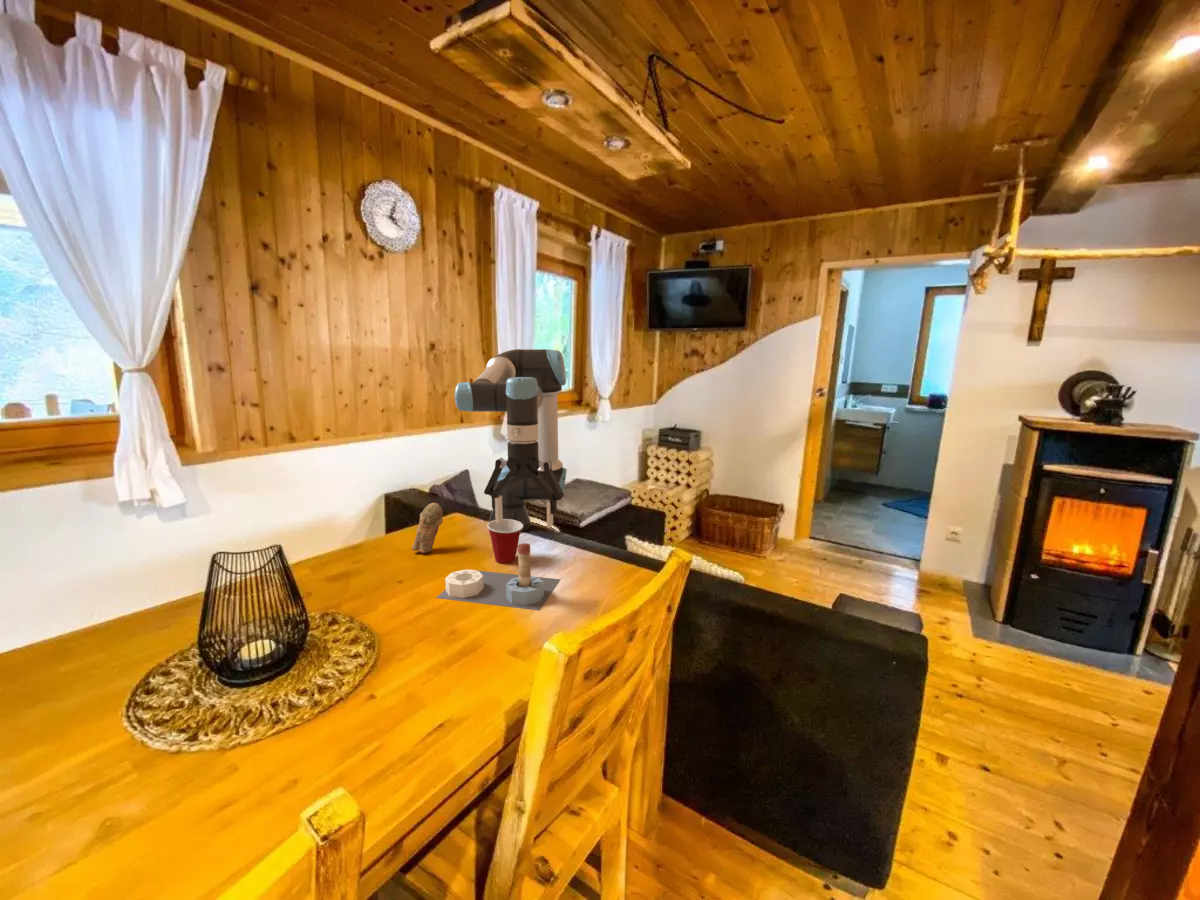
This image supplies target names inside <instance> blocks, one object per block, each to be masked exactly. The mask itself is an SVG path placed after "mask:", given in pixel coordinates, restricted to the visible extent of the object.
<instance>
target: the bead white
mask: <svg viewBox="0 0 1200 900" xmlns="http://www.w3.org/2000/svg"><path fill="white" fill-rule="evenodd" d="M479 571H480V570H478V571H476V569H475V570H474V569H469V570H468V569H466V568H465V569H462V570H457V571H452V572H451V573H450V574H448V575H447V576H446V577H445V578H444V580H445V581H444V582H445V583H444V584H445V589H446V592H447V593H448V595H449V596H450V597H458V598H466V597H470V596H474V595H477V594H478V593H479V592H480V591H481V590H482V589H483V588H484V585H483V575H482V574H481V573H480V572H479Z"/></svg>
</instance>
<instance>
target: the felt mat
mask: <svg viewBox="0 0 1200 900" xmlns="http://www.w3.org/2000/svg"><path fill="white" fill-rule="evenodd" d="M467 570H470V569H467ZM475 570H476V569H475ZM476 571H479V572H480V573H481V574H482V575H483V585H484V588H483V589H482V590H481V591H480V592H479V593H478V594H477V595H474V596H470V597H466V598H458V597H450V596H449V595H448V593H447V592H446V588H445V590H443V591H442V592H440V594H439V595H437V596H436V597H435V599H439V600H449V601H457V602H458V601H459V602H466V603H473V604H483V605H491V606H498V607H499V606H500V607H506V608H514V609H516V608H517V609H521V610H522V609H523V610H532V611H541V610H542V608H543V606H544V605H545V604H546V602H547V601H548V599H549V597H550V596H552V595H551V594H553V592H554V590H555V588H556V587H557V585H559V583H560V581H561V578H550V577H542V576H537V577H538V578H539V579H541V580H542V581H543V582H544V596H543V597H542V599H541V600H540V602H537V603H534V604H530V605H526V606H525V605H516V604H511V602H510V601H509V600H508V599H507V598H506V584H507V583H508V582H509V581H510V580H511V579H513V578H517V577H519V574H514V573H513V574H512V573H506V572H505V573H504V572H495V571H486V570H485V571H484V570H476ZM531 576H532V575H531ZM532 577H535V576H534V575H533V576H532Z"/></svg>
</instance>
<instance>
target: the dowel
mask: <svg viewBox="0 0 1200 900" xmlns="http://www.w3.org/2000/svg"><path fill="white" fill-rule="evenodd" d="M517 556H518V557H517V558H518V560H517V561H518V563H517V564H518V575H519V587H521V588H527V587H531V576H532V573H531V570H532V569H531V544H529V543H518V547H517Z"/></svg>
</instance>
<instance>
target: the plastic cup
mask: <svg viewBox="0 0 1200 900" xmlns="http://www.w3.org/2000/svg"><path fill="white" fill-rule="evenodd" d="M486 527H487V529H488V532H489V536H490V541H491V544H492V545H491V547H492V551H493V555H494V560H495V562H496V563H497V564H500V565H506V564H512V563H514V562H515V560H516V558H517V557H516V556H517V552H518V545H519V540H520V535H521V533H522V532H521V530H522V528H523V524H522V523H521V522H519V521H516V520H511V519H503V520H502V521H500V522H499V523H496V520H493V521H490V522H489V521H488V523H487V524H486Z"/></svg>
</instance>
